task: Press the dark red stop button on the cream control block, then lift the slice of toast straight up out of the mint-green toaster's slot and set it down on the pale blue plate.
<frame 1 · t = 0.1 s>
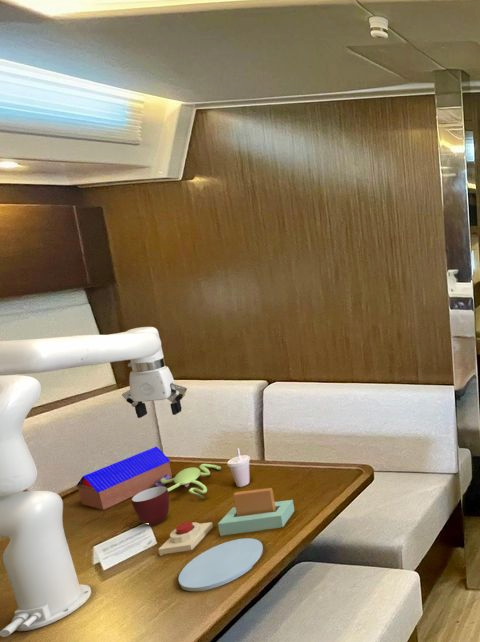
hand: (160, 414, 148), 31 cm above the table, tool pointing down, fingers open, 9 cm apart
house: (129, 490, 160), on the table
control block: (187, 541, 134), on the table
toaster: (258, 523, 141), on the table
mug: (153, 522, 143), on the table
smoothie: (243, 484, 163), on the table
plate: (223, 564, 125), on the table
stop button: (184, 528, 133), point 4 cm above the table, slide at 0.1 cm
toast: (258, 522, 141), resting on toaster
figurine: (182, 491, 159), on the table
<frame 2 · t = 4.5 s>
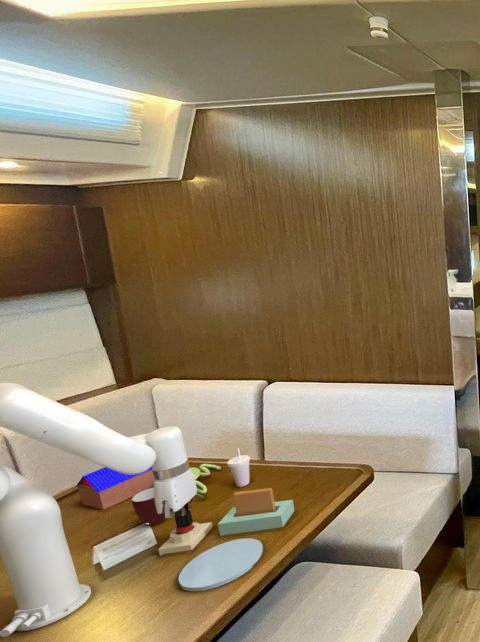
hand: (185, 525, 133), 5 cm above the table, tool pointing down, fingers closed
stop button: (184, 528, 133), point 4 cm above the table, slide at 0.1 cm, touching gripper
everything else where it was.
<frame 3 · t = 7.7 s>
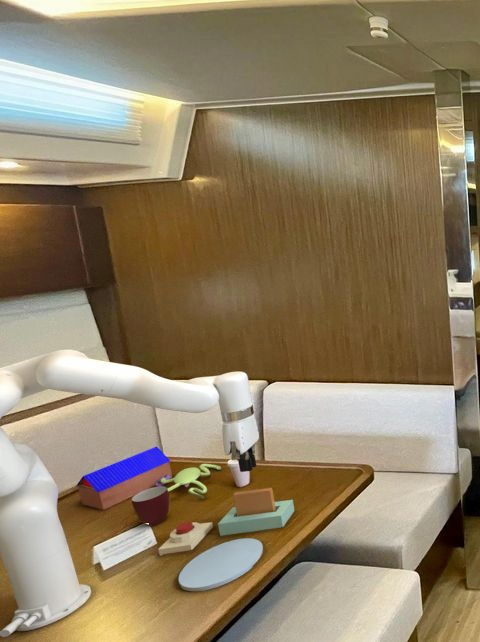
hand: (248, 468, 137), 19 cm above the table, tool pointing down, fingers closed
stop button: (184, 528, 133), point 4 cm above the table, slide at 0.1 cm
everything else where it was.
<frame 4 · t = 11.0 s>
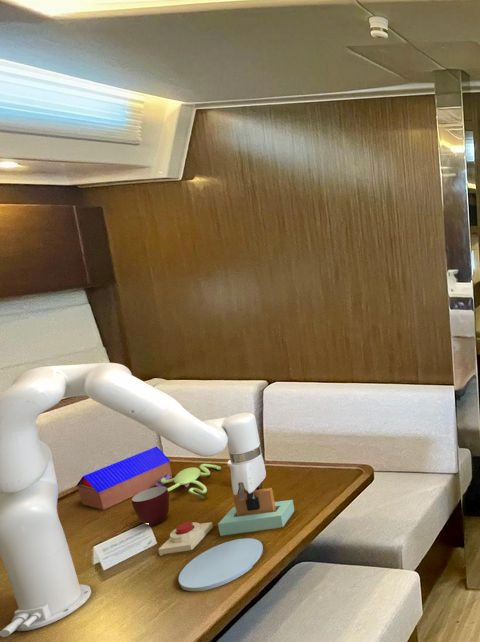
hand: (255, 506, 140), 6 cm above the table, tool pointing down, fingers closed on toast, 1 cm apart
toast: (258, 522, 141), point 1 cm above the table, touching gripper
everything else where it was.
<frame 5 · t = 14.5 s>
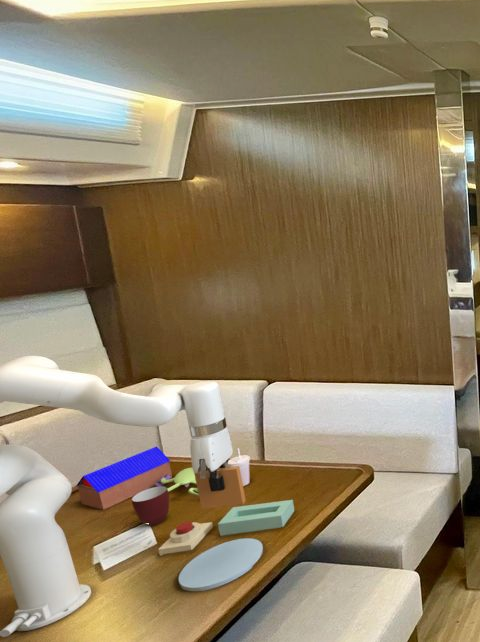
hand: (220, 487, 125), 21 cm above the table, tool pointing down, fingers closed on toast, 1 cm apart
toast: (224, 505, 126), point 15 cm above the table, touching gripper
everything else where it was.
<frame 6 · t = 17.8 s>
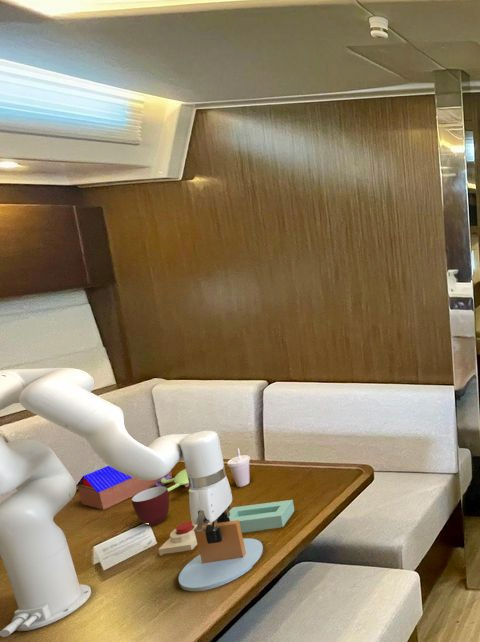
hand: (219, 536, 124), 8 cm above the table, tool pointing down, fingers open, 3 cm apart
toast: (224, 558, 125), point 1 cm above the table, touching plate
everything else where it was.
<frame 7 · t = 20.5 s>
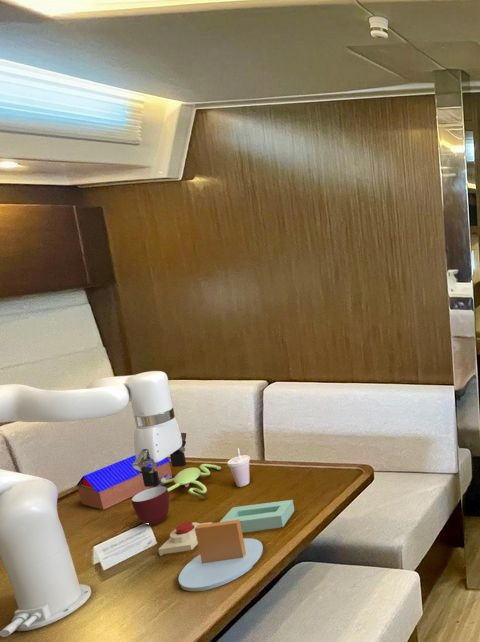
hand: (166, 475, 124), 25 cm above the table, tool pointing down, fingers open, 9 cm apart
nothing on the table moved.
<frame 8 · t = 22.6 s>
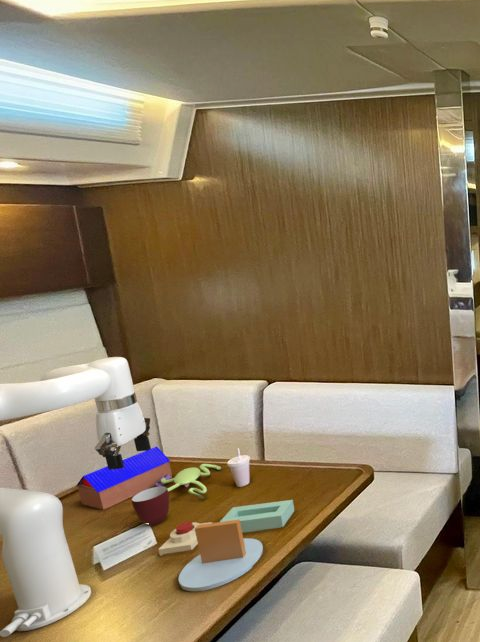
hand: (130, 459, 126), 28 cm above the table, tool pointing down, fingers open, 9 cm apart
nothing on the table moved.
at the end: stop button pushed in 1.1 cm at the most during the clip and back out by the end; toast inside the target area on the plate (1.0 cm from its centre), point 1.2 cm above the plate's base; toast touching plate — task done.
